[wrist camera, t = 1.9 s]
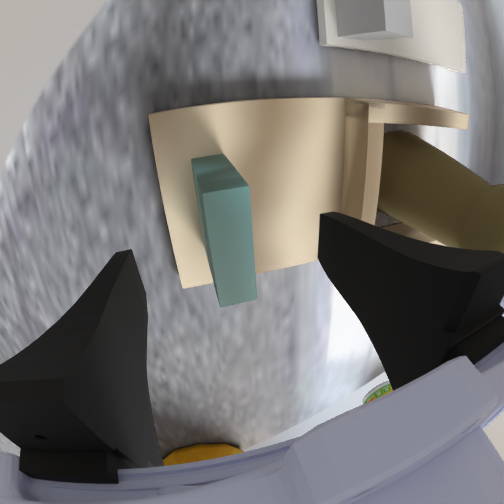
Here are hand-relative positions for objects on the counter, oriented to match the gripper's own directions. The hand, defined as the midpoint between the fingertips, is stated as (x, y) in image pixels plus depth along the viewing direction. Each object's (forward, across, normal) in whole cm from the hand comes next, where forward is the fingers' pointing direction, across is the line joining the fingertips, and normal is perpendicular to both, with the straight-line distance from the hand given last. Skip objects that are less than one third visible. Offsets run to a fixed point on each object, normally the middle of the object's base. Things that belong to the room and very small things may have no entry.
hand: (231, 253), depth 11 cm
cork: (+6, -13, 0) cm, 14 cm away
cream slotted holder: (+6, -7, 0) cm, 9 cm away
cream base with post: (+6, -13, -11) cm, 18 cm away
